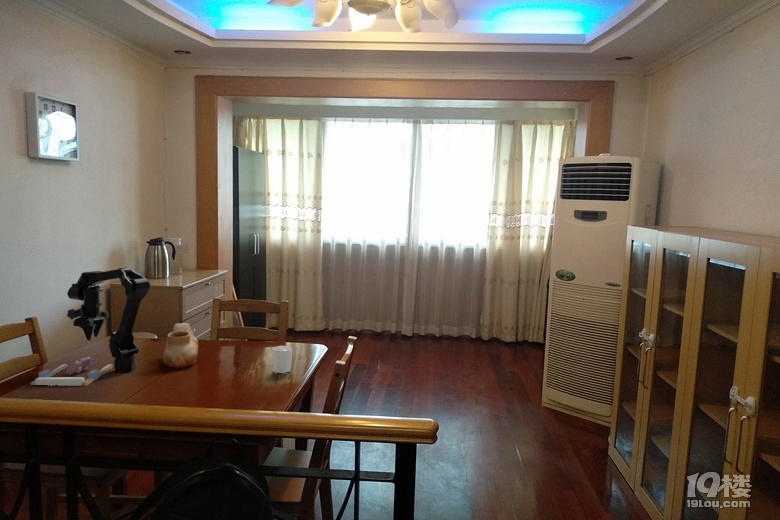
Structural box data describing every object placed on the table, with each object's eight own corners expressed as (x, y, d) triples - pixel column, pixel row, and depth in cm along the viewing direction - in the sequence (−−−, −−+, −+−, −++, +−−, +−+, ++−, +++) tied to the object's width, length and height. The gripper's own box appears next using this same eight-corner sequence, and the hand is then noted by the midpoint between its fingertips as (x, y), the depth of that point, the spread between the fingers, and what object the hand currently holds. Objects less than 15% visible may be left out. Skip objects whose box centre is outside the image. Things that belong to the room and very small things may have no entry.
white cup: (295, 370, 213) (295, 347, 212) (284, 375, 206) (284, 351, 205) (280, 367, 216) (280, 344, 215) (268, 372, 209) (268, 349, 208)
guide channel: (113, 367, 209) (113, 360, 209) (87, 385, 187) (87, 377, 187) (62, 367, 207) (62, 359, 207) (30, 385, 185) (29, 377, 185)
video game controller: (72, 379, 198) (79, 364, 196) (63, 373, 198) (69, 358, 197) (92, 372, 207) (98, 357, 206) (83, 366, 208) (89, 352, 207)
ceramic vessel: (199, 351, 237) (199, 319, 235) (197, 368, 212) (197, 333, 210) (167, 353, 232) (167, 321, 231) (161, 370, 207) (160, 334, 206)
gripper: (82, 297, 218) (82, 333, 220) (58, 305, 200) (59, 344, 201) (109, 297, 219) (110, 333, 221) (88, 305, 201) (89, 344, 202)
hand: (92, 338), depth 211 cm, fingers open, 6 cm apart
